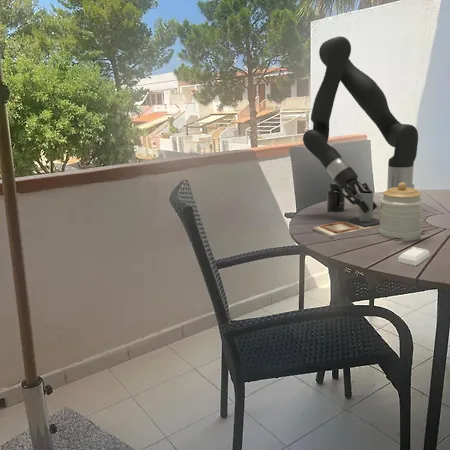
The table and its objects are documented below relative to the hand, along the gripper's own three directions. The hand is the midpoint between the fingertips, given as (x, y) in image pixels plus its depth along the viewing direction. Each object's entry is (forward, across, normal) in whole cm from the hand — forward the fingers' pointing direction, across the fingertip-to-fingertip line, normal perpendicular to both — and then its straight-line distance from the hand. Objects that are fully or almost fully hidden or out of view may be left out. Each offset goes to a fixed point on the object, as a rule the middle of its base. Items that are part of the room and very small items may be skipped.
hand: (371, 209), depth 151 cm
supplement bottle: (-10, +10, +19) cm, 24 cm away
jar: (+13, -4, -4) cm, 14 cm away
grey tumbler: (+2, 0, +4) cm, 5 cm away
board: (+2, -6, +7) cm, 9 cm away
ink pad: (+2, 0, +5) cm, 5 cm away
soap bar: (+23, -22, -13) cm, 34 cm away
